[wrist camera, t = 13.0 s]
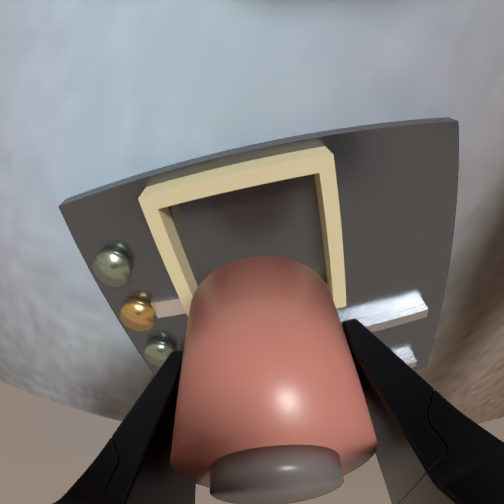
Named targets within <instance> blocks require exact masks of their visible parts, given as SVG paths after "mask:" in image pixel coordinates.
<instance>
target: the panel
mask: <svg viewBox="0 0 504 504" xmlns="http://www.w3.org/2000/svg"><path fill="white" fill-rule="evenodd" d="M323 146H325V147H326V148H327V149H329V150H330V151H331V152H332V153H333V155H334V163H335V171H336V179H337V188H338V197H339V206H340V217H341V228H342V239H343V253H344V268H345V285H346V306H345V307H341V308H336V310H337V313H338V316H339V319H340V321H341V324H342V322H343V321H345V320H349V319H353V318H355V319H357V320H358V321H359V322H361V323H362V324H363V325H364V326H365V327H366V328H367V329H368V330H369V331H371V332H372V333H373V334H374V335H375V336H376V337H377V338H378V339H380V340H381V341H382V342H383V343H384V344H385V345H386V346H387V347H388V348H390V349H391V350H392V351H393V352H394V353H395V354H396V355H397V356H398V357H400V358H401V359H402V360H403V361H404V362H405V363H406V364H407V365H408V366H409V367H411V368H412V369H413V370H414V371H415V370H418V369H421V368H424V367H426V364H427V361H428V358H429V354H430V351H431V347H432V343H433V339H434V336H435V332H436V328H437V324H438V319H439V315H440V311H441V306H442V301H443V296H444V291H445V286H446V281H447V275H448V269H449V263H450V256H451V250H452V242H453V234H454V225H455V215H456V204H457V189H458V167H459V124H458V121H457V120H454V119H451V118H433V119H420V120H409V121H399V122H389V123H380V124H372V125H364V126H357V127H349V128H342V129H336V130H329V131H323V132H317V133H311V134H305V135H300V136H294V137H289V138H284V139H278V140H273V141H268V142H264V143H259V144H254V145H249V146H245V147H240V148H236V149H232V150H227V151H223V152H219V153H215V154H211V155H207V156H203V157H199V158H195V159H191V160H188V161H184V162H180V163H177V164H173V165H169V166H166V167H162V168H159V169H155V170H152V171H149V172H145V173H142V174H139V175H136V176H132V177H129V178H126V179H123V180H120V181H117V182H114V183H111V184H108V185H105V186H102V187H99V188H96V189H93V190H90V191H87V192H84V193H82V194H79V195H76V196H73V197H71V198H68V199H66V200H65V201H64V202H63V203H62V204H61V205H60V206H59V208H60V211H61V213H62V215H63V217H64V219H65V222H66V224H67V226H68V228H69V230H70V232H71V234H72V236H73V238H74V240H75V242H76V244H77V246H78V248H79V250H80V252H81V254H82V256H83V258H84V260H85V262H86V264H87V266H88V268H89V270H90V271H91V273H92V275H93V277H94V279H95V281H96V282H97V284H98V286H99V288H100V290H101V291H102V293H103V295H104V297H105V298H106V300H107V302H108V303H109V305H110V307H111V309H112V310H113V312H114V314H115V315H116V317H117V318H118V320H119V322H120V323H121V325H122V327H123V328H124V330H125V331H126V333H127V334H128V336H129V338H130V339H131V341H132V342H133V344H134V345H135V347H136V348H137V350H138V351H139V353H140V354H141V356H142V357H143V359H144V360H145V362H146V363H147V365H148V366H149V368H150V369H151V370H152V372H153V373H154V375H156V373H157V372H158V370H159V369H160V367H161V366H162V365H163V363H164V362H165V360H166V359H167V358H168V356H169V355H170V353H171V352H173V351H177V350H184V344H185V337H186V331H187V324H188V316H187V313H186V311H185V309H184V307H183V305H182V303H181V300H180V298H179V296H178V294H177V292H176V289H175V287H174V285H173V283H172V280H171V278H170V276H169V274H168V271H167V269H166V267H165V264H164V262H163V260H162V257H161V255H160V253H159V250H158V248H157V245H156V243H155V241H154V238H153V236H152V233H151V231H150V228H149V226H148V223H147V221H146V218H145V216H144V213H143V210H142V208H141V205H140V203H139V200H138V198H139V197H140V195H141V194H142V192H143V191H144V189H145V188H146V187H148V186H151V185H155V184H159V183H162V182H166V181H169V180H173V179H177V178H180V177H184V176H188V175H192V174H196V173H200V172H204V171H208V170H212V169H216V168H220V167H224V166H229V165H233V164H237V163H242V162H246V161H251V160H255V159H260V158H265V157H270V156H275V155H280V154H285V153H290V152H295V151H300V150H306V149H311V148H317V147H323ZM168 209H169V212H170V214H171V217H172V220H173V223H174V225H175V228H176V231H177V234H178V236H179V239H180V242H181V244H182V247H183V250H184V252H185V255H186V257H187V260H188V263H189V265H190V268H191V270H192V273H193V275H194V278H195V280H196V283H197V285H198V286H199V285H200V284H201V282H202V281H203V280H204V279H205V278H206V277H207V276H208V275H210V274H211V273H212V272H214V271H215V270H217V269H218V268H220V267H222V266H224V265H226V264H229V263H231V262H234V261H237V260H240V259H244V258H250V257H257V256H273V257H281V258H287V259H290V260H294V261H297V262H299V263H301V264H304V265H306V266H307V267H309V268H311V269H312V270H314V271H315V272H316V273H317V274H318V275H320V276H321V278H322V279H323V280H324V281H325V283H326V284H327V283H328V282H327V272H326V263H325V254H324V245H323V236H322V228H321V220H320V213H319V205H318V198H317V191H316V184H315V177H314V174H311V175H306V176H300V177H295V178H290V179H285V180H280V181H275V182H271V183H266V184H261V185H256V186H252V187H247V188H243V189H238V190H234V191H229V192H225V193H221V194H216V195H212V196H208V197H204V198H200V199H196V200H191V201H187V202H183V203H179V204H175V205H172V206H168Z"/></svg>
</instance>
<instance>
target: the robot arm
mask: <svg viewBox="0 0 504 504" xmlns="http://www.w3.org/2000/svg"><path fill="white" fill-rule="evenodd" d="M342 327H343V330H344V333H345V336H346V339H347V342H348V346H349V349H350V352H351V355H352V358H353V361H354V364H355V367H356V371H357V374H358V377H359V380H360V383H361V387H362V390H363V393H364V397H365V400H366V403H367V407H368V410H369V414H370V417H371V421H372V424H373V428H374V431H375V435H376V438H377V442H378V446H377V450H376V452H375V453H376V456H377V459H378V462H379V465H380V468H381V471H382V474H383V477H384V480H385V483H386V486H387V490H388V492H389V496H390V499H391V502H392V504H504V442H502V441H501V440H499V439H498V438H496V437H495V436H493V435H492V434H491V433H489V432H488V431H486V430H485V429H483V428H482V427H481V426H479V425H478V424H476V423H475V422H474V421H472V420H471V419H469V418H468V417H467V416H465V415H464V414H463V413H461V412H460V411H459V410H457V409H456V408H455V407H454V406H453V405H451V404H450V403H449V402H448V401H447V400H446V399H444V398H443V397H442V396H441V395H440V394H439V393H438V392H437V391H436V390H434V391H433V388H432V387H431V386H430V385H429V384H428V383H427V382H426V381H425V380H424V379H423V378H422V377H420V376H419V375H418V374H417V373H416V372H415V371H414V370H413V369H412V368H411V367H409V366H408V365H407V364H406V363H405V362H404V361H403V360H402V359H401V358H400V357H398V356H397V355H396V354H395V353H394V352H393V351H392V350H391V349H390V348H388V347H387V346H386V345H385V344H384V343H383V342H382V341H381V340H380V339H378V338H377V337H376V336H375V335H374V334H373V333H372V332H371V331H369V330H368V329H367V328H366V327H365V326H364V325H363V324H362V323H361V322H359V321H358V320H357V319H355V318H353V319H349V320H345V321H343V322H342ZM183 351H184V350H177V351H173V352H171V353H170V355H169V356H168V358H167V359H166V360H165V362H164V363H163V365H162V366H161V367H160V369H159V370H158V372H157V373H156V375H155V376H154V377H153V379H152V380H151V382H150V383H149V384H148V386H147V387H146V389H145V390H144V391H143V393H142V394H141V396H140V397H139V399H138V400H137V401H136V403H135V404H134V406H133V407H132V409H131V410H130V411H129V413H128V414H127V416H126V417H125V418H124V420H123V421H122V423H121V424H120V426H119V427H118V428H117V430H116V431H115V433H114V434H113V436H112V438H110V440H109V441H108V443H107V444H106V445H105V447H104V448H103V450H102V451H101V452H100V454H99V455H98V456H97V458H96V459H95V460H94V462H93V463H92V464H91V465H90V466H89V468H88V469H87V470H86V471H85V472H84V473H83V475H82V476H81V477H80V478H79V479H78V480H77V482H75V484H74V485H73V486H72V487H71V488H70V489H69V490H68V492H67V493H66V494H65V495H64V496H63V497H62V498H61V499H59V500H58V501H56V502H55V503H53V504H195V487H196V486H195V485H196V483H194V482H191V481H189V480H187V479H185V478H183V477H182V476H180V475H179V474H178V473H177V472H175V471H174V469H173V468H172V466H171V463H170V459H171V449H172V439H173V430H174V421H175V412H176V404H177V396H178V388H179V380H180V373H181V365H182V358H183Z"/></svg>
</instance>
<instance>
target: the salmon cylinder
mask: <svg viewBox="0 0 504 504" xmlns="http://www.w3.org/2000/svg"><path fill="white" fill-rule="evenodd" d="M377 446H378V442H377V438H376V435H375V431H374V428H373V424H372V421H371V417H370V414H369V410H368V407H367V403H366V400H365V397H364V393H363V390H362V387H361V383H360V380H359V377H358V374H357V371H356V367H355V364H354V361H353V358H352V355H351V352H350V349H349V346H348V342H347V339H346V336H345V333H344V330H343V327H342V324H341V321H340V319H339V316H338V313H337V310H336V307H335V304H334V301H333V298H332V295H331V293H330V290H329V288H328V286H327V284H326V283H325V281H324V280H323V279H322V278H321V276H320V275H318V274H317V273H316V272H315V271H314V270H312V269H311V268H309V267H307V266H306V265H304V264H301V263H299V262H297V261H294V260H290V259H287V258H281V257H273V256H257V257H250V258H244V259H240V260H237V261H234V262H231V263H229V264H226V265H224V266H222V267H220V268H218V269H217V270H215V271H214V272H212V273H211V274H210V275H208V276H207V277H206V278H205V279H204V280H203V281H202V282H201V284H200V285H199V286H198V287H197V289H196V291H195V293H194V295H193V298H192V300H191V305H190V311H189V318H188V324H187V331H186V337H185V344H184V351H183V358H182V365H181V373H180V380H179V388H178V396H177V404H176V412H175V421H174V430H173V439H172V449H171V459H170V463H171V466H172V468H173V469H174V471H175V472H177V473H178V474H179V475H180V476H182V477H183V478H185V479H187V480H189V481H191V482H194V483H196V484H199V485H202V486H206V487H210V494H211V495H212V496H213V497H214V498H216V499H219V500H221V501H225V502H229V503H234V504H288V503H295V502H300V501H305V500H309V499H313V498H316V497H319V496H322V495H325V494H327V493H330V492H332V491H334V490H336V489H337V488H339V487H340V486H341V485H342V484H343V482H344V478H343V475H346V474H348V473H350V472H352V471H353V470H355V469H357V468H358V467H360V466H362V465H363V464H364V463H365V462H367V461H368V460H369V459H370V458H371V457H372V456H373V454H374V453H375V452H376V450H377Z"/></svg>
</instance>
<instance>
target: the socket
mask: <svg viewBox="0 0 504 504" xmlns="http://www.w3.org/2000/svg"><path fill="white" fill-rule="evenodd" d="M311 174H314V177H315V184H316V191H317V198H318V205H319V213H320V220H321V228H322V236H323V245H324V254H325V263H326V272H327V282H328V283H327V286H328V288H329V290H330V293H331V295H332V298H333V301H334V304H335V307H336V308H341V307H345V306H346V285H345V268H344V253H343V239H342V228H341V217H340V206H339V197H338V188H337V179H336V171H335V163H334V155H333V153H332V152H331V151H330V150H329V149H327V148H326V147H325V146H323V147H317V148H311V149H306V150H300V151H295V152H290V153H285V154H280V155H275V156H270V157H265V158H260V159H255V160H251V161H246V162H242V163H237V164H233V165H229V166H224V167H220V168H216V169H212V170H208V171H204V172H200V173H196V174H192V175H188V176H184V177H180V178H177V179H173V180H169V181H166V182H162V183H159V184H155V185H151V186H148V187H146V188H145V189H144V191H143V192H142V194H141V195H140V197H139V198H138V200H139V203H140V205H141V208H142V210H143V213H144V216H145V218H146V221H147V223H148V226H149V228H150V231H151V233H152V236H153V238H154V241H155V243H156V245H157V248H158V250H159V253H160V255H161V257H162V260H163V262H164V264H165V267H166V269H167V271H168V274H169V276H170V278H171V280H172V283H173V285H174V287H175V289H176V292H177V294H178V296H179V298H180V300H181V303H182V305H183V307H184V309H185V311H186V313H187V316H188V318H189V311H190V305H191V300H192V298H193V295H194V293H195V291H196V289H197V287H198V285H197V283H196V280H195V278H194V275H193V273H192V270H191V268H190V265H189V263H188V260H187V257H186V255H185V252H184V250H183V247H182V244H181V242H180V239H179V236H178V234H177V231H176V228H175V225H174V223H173V220H172V217H171V214H170V212H169V209H168V206H172V205H175V204H179V203H183V202H187V201H191V200H196V199H200V198H204V197H208V196H212V195H216V194H221V193H225V192H229V191H234V190H238V189H243V188H247V187H252V186H256V185H261V184H266V183H271V182H275V181H280V180H285V179H290V178H295V177H300V176H306V175H311Z"/></svg>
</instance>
